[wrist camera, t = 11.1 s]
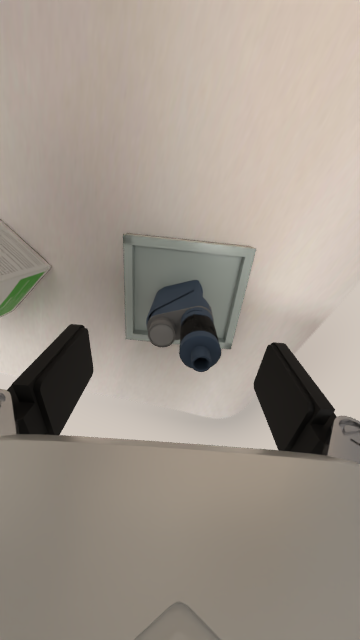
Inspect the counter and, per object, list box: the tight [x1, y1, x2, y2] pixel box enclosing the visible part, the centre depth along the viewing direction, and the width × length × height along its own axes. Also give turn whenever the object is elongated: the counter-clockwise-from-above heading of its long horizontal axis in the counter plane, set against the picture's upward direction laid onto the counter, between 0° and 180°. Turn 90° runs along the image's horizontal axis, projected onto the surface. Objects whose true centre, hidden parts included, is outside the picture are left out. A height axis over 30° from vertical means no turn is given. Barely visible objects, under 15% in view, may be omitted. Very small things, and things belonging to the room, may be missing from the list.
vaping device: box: [146, 280, 221, 372], centre depth 16 cm, size 3×5×12 cm, turn 104°
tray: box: [123, 233, 256, 349], centre depth 21 cm, size 11×12×2 cm
